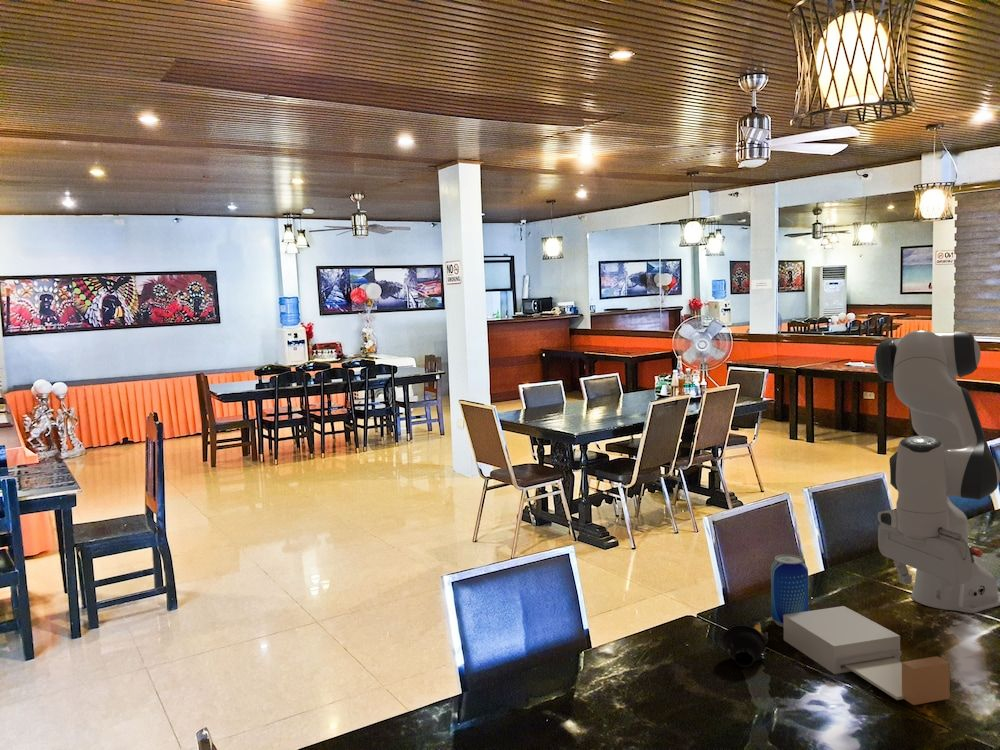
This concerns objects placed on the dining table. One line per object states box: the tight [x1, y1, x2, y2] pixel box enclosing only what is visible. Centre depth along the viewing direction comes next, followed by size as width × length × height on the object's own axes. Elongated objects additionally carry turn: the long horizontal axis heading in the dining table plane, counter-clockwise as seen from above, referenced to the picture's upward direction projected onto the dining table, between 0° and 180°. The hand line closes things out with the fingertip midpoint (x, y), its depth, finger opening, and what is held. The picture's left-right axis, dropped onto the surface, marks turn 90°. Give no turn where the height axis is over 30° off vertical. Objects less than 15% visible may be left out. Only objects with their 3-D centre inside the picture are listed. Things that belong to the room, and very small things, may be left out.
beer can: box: [770, 554, 810, 629], centre depth 188 cm, size 8×8×16 cm
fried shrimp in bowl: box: [721, 621, 769, 668], centre depth 172 cm, size 9×11×18 cm
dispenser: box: [783, 605, 903, 675], centre depth 171 cm, size 16×19×6 cm
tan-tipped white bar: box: [843, 655, 951, 706], centre depth 157 cm, size 11×22×7 cm, turn 13°
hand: (923, 591), depth 151 cm, fingers open, 8 cm apart
